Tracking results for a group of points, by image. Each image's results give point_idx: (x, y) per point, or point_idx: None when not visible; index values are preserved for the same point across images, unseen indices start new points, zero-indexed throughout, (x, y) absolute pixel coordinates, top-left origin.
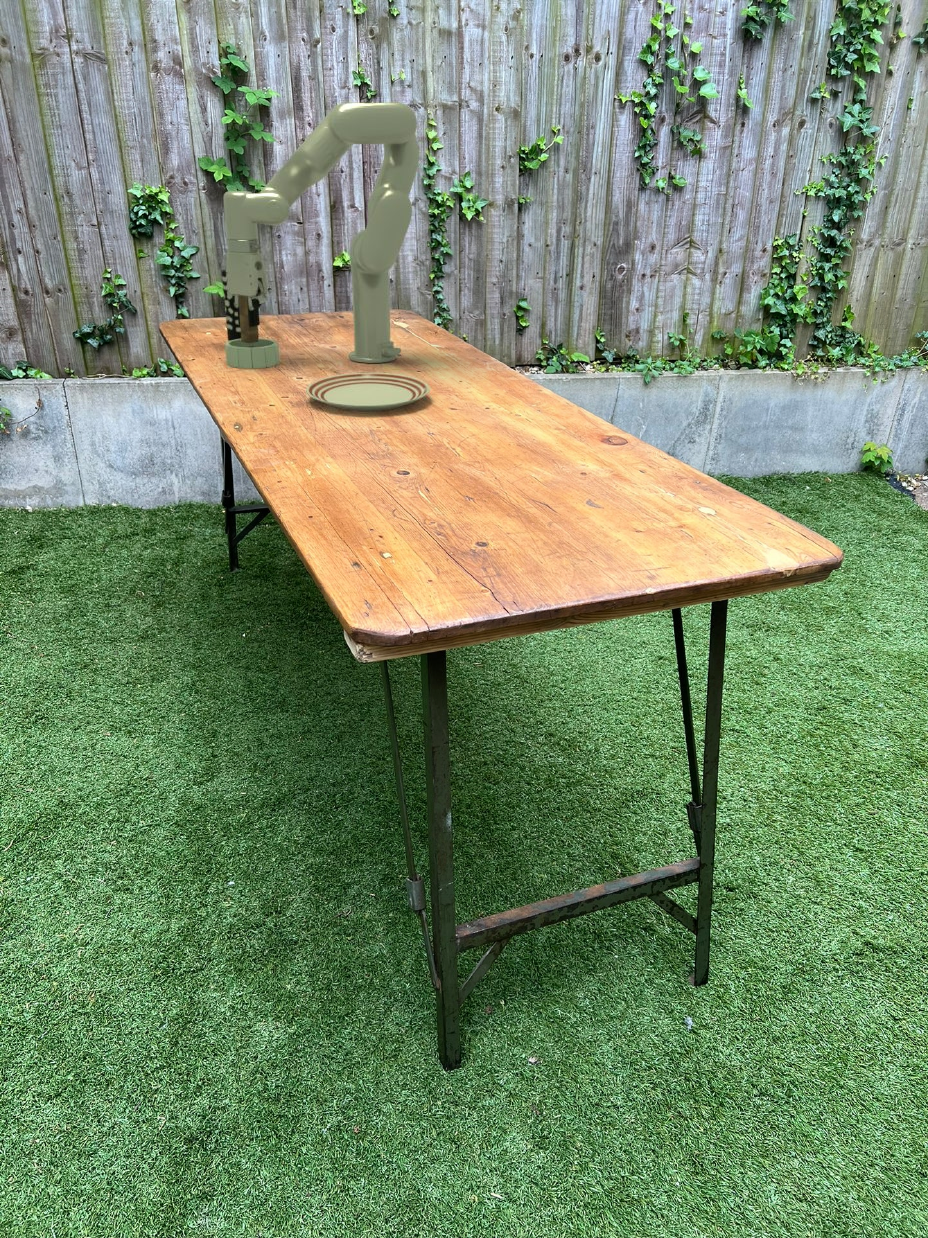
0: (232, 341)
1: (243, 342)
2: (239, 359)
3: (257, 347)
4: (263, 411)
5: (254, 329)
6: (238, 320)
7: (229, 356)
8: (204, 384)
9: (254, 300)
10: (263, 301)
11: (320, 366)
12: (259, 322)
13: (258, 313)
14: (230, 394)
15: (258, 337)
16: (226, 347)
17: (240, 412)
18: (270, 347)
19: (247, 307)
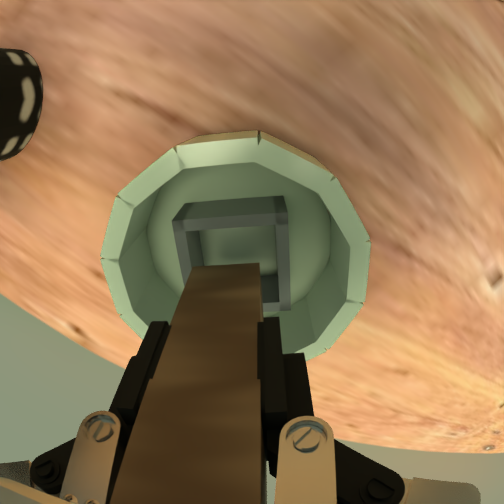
0: (134, 309)
1: (127, 244)
2: None
3: (336, 323)
4: (499, 419)
5: None
6: None
7: None
8: (337, 436)
9: (262, 497)
10: (436, 489)
11: (472, 112)
12: (279, 324)
13: (310, 397)
14: (424, 429)
15: (7, 55)
16: None
17: (475, 438)
18: (366, 266)
19: (266, 483)
